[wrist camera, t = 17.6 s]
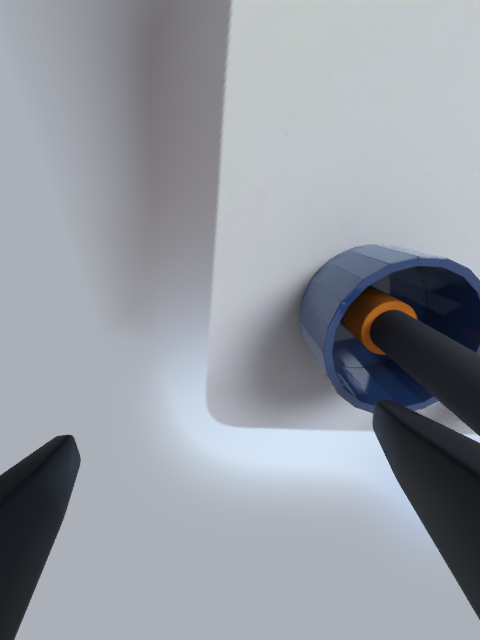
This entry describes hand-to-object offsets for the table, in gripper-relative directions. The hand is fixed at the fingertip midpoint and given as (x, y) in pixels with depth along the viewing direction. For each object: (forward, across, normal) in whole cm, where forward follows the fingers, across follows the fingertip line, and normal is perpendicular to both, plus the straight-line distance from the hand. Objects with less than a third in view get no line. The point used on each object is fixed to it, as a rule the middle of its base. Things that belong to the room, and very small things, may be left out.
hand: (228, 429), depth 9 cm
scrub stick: (+12, -10, +2) cm, 16 cm away
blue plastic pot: (+13, -10, +2) cm, 17 cm away
